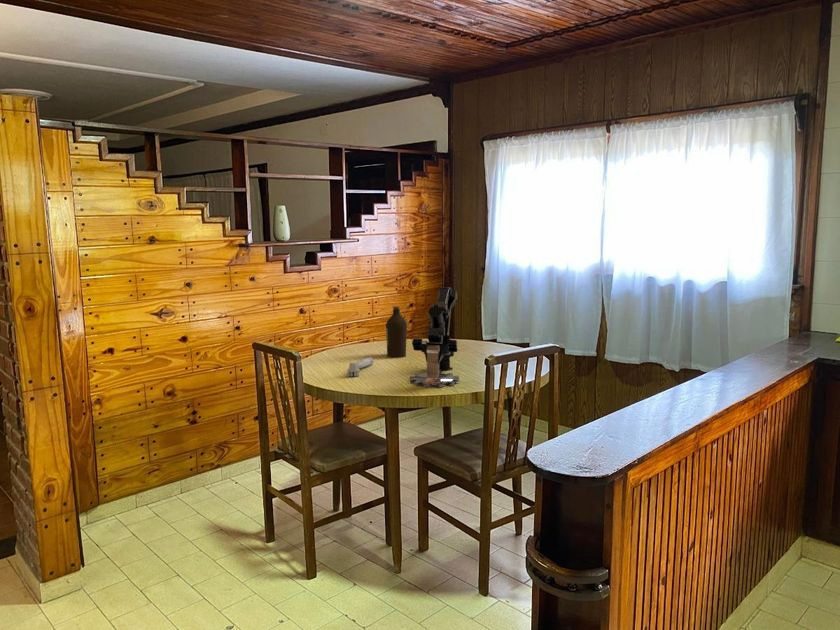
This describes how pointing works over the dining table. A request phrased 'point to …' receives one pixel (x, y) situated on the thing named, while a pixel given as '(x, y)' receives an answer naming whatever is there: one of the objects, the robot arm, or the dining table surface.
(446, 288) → the robot arm
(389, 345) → the olive oil
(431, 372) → the link block
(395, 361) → the dining table surface
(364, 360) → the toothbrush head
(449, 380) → the sprocket plate
